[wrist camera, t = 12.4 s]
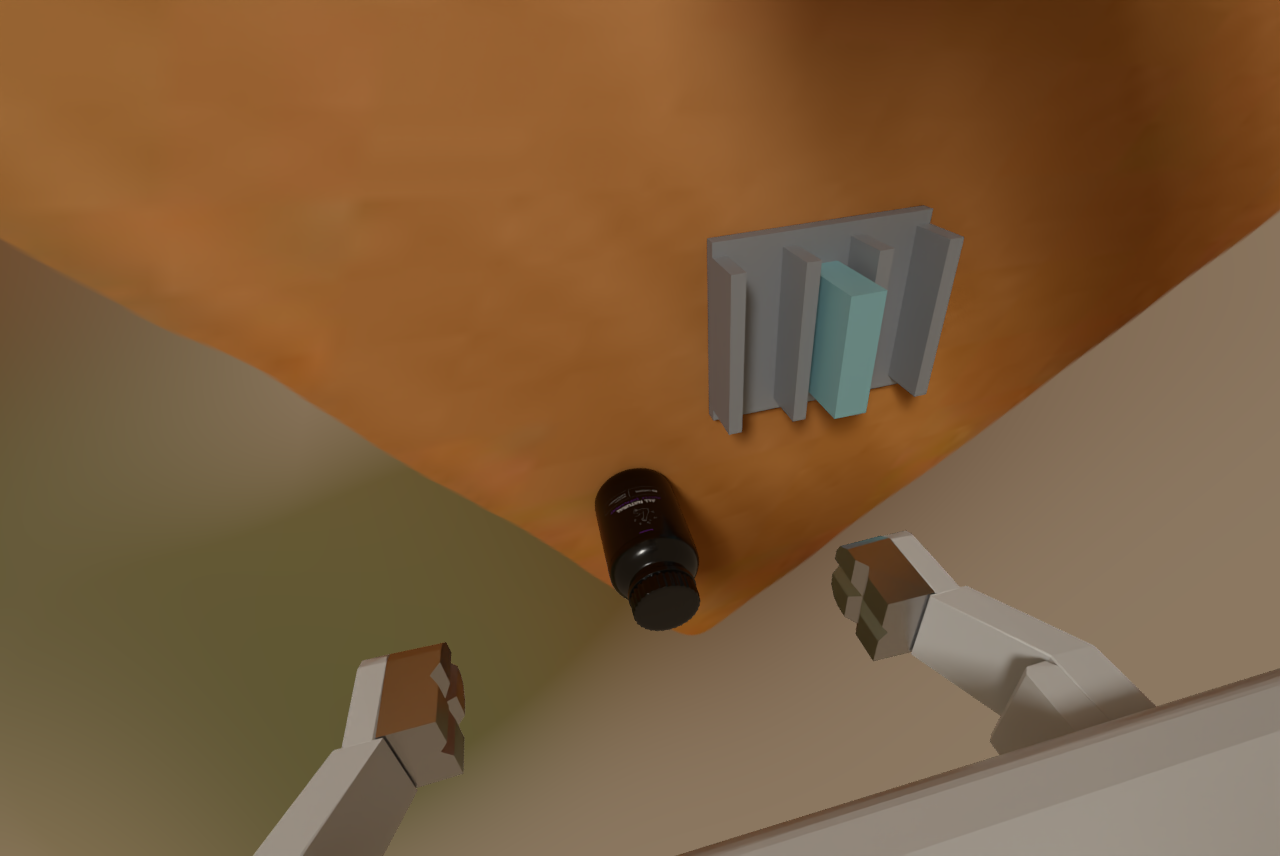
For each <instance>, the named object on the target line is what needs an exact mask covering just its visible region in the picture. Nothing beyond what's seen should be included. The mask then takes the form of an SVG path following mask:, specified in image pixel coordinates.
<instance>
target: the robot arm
mask: <svg viewBox="0 0 1280 856" xmlns="http://www.w3.org/2000/svg"><path fill="white" fill-rule="evenodd" d="M835 559H836V561H837V562H838V564H839V567H838V568H837V569H836V570H835V571H834V573H833V574H832V583H831V585H832V590H833V595H834V598H835V600H836V602H837V605H838V607H839V608H840V610H841V612H842V613H843V615H844V616H845V617H846V618H848V619H850V620H852V621H853V622H855V623H857V627H856V635H857V637H858V638H859V640H860V641H861V643H862V645H863V646H864V648H865V649H866V651H867V652H868V654H869V655H870V657H871V659H872V660H873V661H876V660H880V659H884V658H888V657H893V656H897V655H901V654H905V653H909V652H912V653H911V654H912V655H913V656H915V657H916V658H917V659H919V660H920V661H922V662H923V663H925V664H926V665H928V666H929V667H930V668H932V669H933V670H935V671H936V672H938V673H939V674H941V675H942V676H944V677H945V678H946V679H948V680H949V681H951V682H952V683H954V684H955V685H957V686H958V687H959V688H961V689H962V690H964V691H965V692H967V693H968V694H970V695H971V696H973V697H974V698H975V699H977V700H978V701H980V702H981V703H983V704H984V705H986V706H987V707H989V708H990V709H991V710H993V711H994V712H996V713H998V714H999V715H1000V716H1001V717H1000V719H999V720H998V722H997V724H996V726H995V728H994V730H993V732H992V734H991V739H990V742H991V744H992V745H993V747H994V748H995V749H996V751H997V752H998V753H999V756H995V757H992V758H989V759H986V760H983V761H979V762H976V763H973V764H970V765H966V766H964V767H960V768H957V769H954V770H950V771H947V772H944V773H941V774H938V775H934V776H931V777H928V778H925V779H921V780H918V781H915V782H912V783H908V784H905V785H902V786H899V787H896V788H892V789H889V790H886V791H883V792H880V793H876V794H873V795H870V796H867V797H863V798H860V799H857V800H854V801H850V802H848V803H844V804H841V805H838V806H835V807H831V808H828V809H825V810H822V811H818V812H815V813H812V814H809V815H806V816H802V817H799V818H796V819H793V820H789V821H786V822H783V823H780V824H776V825H773V826H770V827H767V828H763V829H760V830H757V831H754V832H751V833H747V834H744V835H741V836H738V837H734V838H731V839H728V840H725V841H722V842H719V843H716V844H712V845H709V846H706V847H702V848H699V849H696V850H693V851H689V852H686V853H683V854H680V855H677V856H1280V668H1279V669H1276V670H1273V671H1269V672H1267V673H1263V674H1260V675H1257V676H1253V677H1250V678H1247V679H1244V680H1240V681H1237V682H1234V683H1231V684H1228V685H1224V686H1221V687H1218V688H1215V689H1212V690H1208V691H1205V692H1202V693H1199V694H1195V695H1193V696H1189V697H1186V698H1182V699H1179V700H1177V701H1173V702H1170V703H1166V704H1163V705H1160V706H1157V707H1156V706H1155V705H1154V704H1153V703H1152V702H1151V701H1150V700H1149V699H1148V698H1147V697H1146V696H1145V695H1144V694H1143V693H1142V692H1141V691H1140V690H1139V689H1138V688H1137V687H1136V686H1135V685H1134V684H1133V683H1132V682H1131V681H1130V680H1129V679H1128V678H1127V677H1126V676H1125V675H1124V674H1123V673H1122V672H1121V671H1120V670H1119V669H1118V668H1116V667H1115V666H1114V665H1113V664H1112V663H1111V662H1110V661H1109V660H1108V659H1107V658H1106V657H1105V656H1104V655H1103V654H1102V653H1101V652H1100V651H1099V650H1098V649H1097V648H1096V647H1095V646H1094V645H1092V644H1090V643H1087V642H1085V641H1083V640H1081V639H1079V638H1077V637H1075V636H1072V635H1070V634H1068V633H1066V632H1064V631H1062V630H1060V629H1058V628H1056V627H1053V626H1051V625H1049V624H1047V623H1045V622H1043V621H1041V620H1038V619H1036V618H1034V617H1032V616H1030V615H1028V614H1026V613H1024V612H1021V611H1019V610H1017V609H1015V608H1013V607H1011V606H1009V605H1007V604H1004V603H1002V602H1000V601H998V600H996V599H993V598H992V597H989V596H987V595H985V594H983V593H981V592H979V591H977V590H975V589H972V588H970V587H968V586H963V587H959V585H958V584H957V583H956V582H955V581H954V580H953V579H952V578H951V577H950V575H949V574H948V573H947V572H946V571H945V570H944V569H943V568H942V567H941V566H940V564H939V563H938V562H937V561H936V560H935V559H934V558H933V557H932V555H931V554H930V553H929V552H928V551H927V550H926V549H925V548H924V547H923V546H922V544H921V543H920V542H919V541H918V540H917V539H916V538H915V537H914V536H913V534H912V533H910V532H908V531H901V532H897V533H893V534H889V535H885V536H878V537H874V538H870V539H866V540H863V541H859V542H855V543H851V544H847V545H843V546H840V547H839V548H838V549H837V551H836V557H835ZM464 716H465V695H464V685H463V681H462V677H461V674H460V671H459V669H458V666H456V665H453V664H451V651H450V649H449V647H448V645H447V643H446V642H445V643H440V644H436V645H431V646H426V647H422V648H417V649H413V650H407V651H403V652H398V653H394V654H389V655H384V656H380V657H376V658H372V659H367V660H363V661H362V662H361V665H360V666H359V668H358V670H357V675H356V679H355V684H354V689H353V695H352V699H351V704H350V709H349V714H348V719H347V724H346V729H345V734H344V739H343V744H342V748H340V749H336V750H333V751H332V753H331V754H330V755H329V757H328V758H327V759H326V761H325V762H324V763H323V764H322V766H321V767H320V768H319V770H318V771H317V772H316V774H315V775H314V776H313V778H312V779H311V780H310V782H309V783H308V784H307V785H306V787H305V788H304V789H303V791H302V792H301V793H300V795H299V796H298V797H297V799H296V800H295V801H294V803H293V804H292V805H291V807H290V808H289V809H288V811H287V812H286V813H285V814H284V816H283V817H282V818H281V820H280V821H279V822H278V824H277V825H276V826H275V828H274V829H273V830H272V832H271V833H270V834H269V835H268V837H267V838H266V839H265V841H264V842H263V843H262V845H261V846H260V847H259V849H258V850H257V851H256V853H255V854H254V855H253V856H383V855H384V853H385V851H386V849H387V847H388V846H389V844H390V842H391V840H392V838H393V836H394V834H395V832H396V830H397V829H398V827H399V825H400V823H401V821H402V819H403V817H404V815H405V813H406V811H407V809H408V808H409V806H410V804H411V802H412V800H413V798H414V796H415V794H416V792H417V789H416V788H417V787H421V786H424V785H427V784H431V783H434V782H437V781H440V780H443V779H447V778H450V777H454V776H457V775H460V774H463V770H464V736H463V734H462V732H461V730H460V728H459V723H460V722H461V720H462V719H463V717H464Z"/></svg>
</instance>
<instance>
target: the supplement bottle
mask: <svg viewBox="0 0 1280 856" xmlns="http://www.w3.org/2000/svg"><path fill="white" fill-rule="evenodd" d="M595 511H596V516H597V521H598V526H599V530H600V535H601V540H602V544H603V549H604V553H605V558H606V562H607V567H608V572H609V576H610V579H611V583H612V585H613V587H614V588H615V590H616V591H617V592H618V593H619V594H620V595H621V596H623V597H624V598H626V599H627V600H629V604H630V606H631V608H632V612H633V616H634V619H635V621H637V624H639V625H640V626H641V627H644V628H645V629H649V630H655V631H660V630H661V631H664V630H670V629H672V628H676V627H678V626H680V625H682V624H683V623H686V622H687V621H688V620H689V619H691V618H692V616H694V615H695V613H696V611H697V610H698V607H699V606H700V604H699V603H700V598H699V593H698V590H697V588H696V582H695V580H694V578H695V576H696V574H697V571H698V566H699V556H698V552H697V549H696V547H695V544H694V542H693V539H692V537H691V534H690V532H689V529H688V527H687V524H686V522H685V519H684V517H683V514H682V512H681V509H680V507H679V504H678V502H677V499H676V497H675V494H674V492H673V490H672V487H671V485H670V484H669V482H668V481H667V479H666V478H665V477H664V476H662V475H661V474H659V473H657V472H655V471H653V470H649V469H642V468H636V469H629V470H625V471H622V472H620V473H618V474H616V475H614V476H612V477H611V478H610V479H608V480H607V481H606V482H605V483H604V484H603V485H602V487H601V488H600V490H599V491H598V493H597V496H596V500H595Z"/></svg>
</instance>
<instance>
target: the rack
mask: <svg viewBox="0 0 1280 856" xmlns="http://www.w3.org/2000/svg"><path fill="white" fill-rule="evenodd" d="M932 211H933V209H932V208H930V207H927V206H924V205H923V206H917V207H910V208H904V209H897V210H891V211H884V212H877V213H871V214H864V215H858V216H851V217H845V218H838V219H832V220H825V221H819V222H812V223H805V224H799V225H792V226H786V227H779V228H773V229H766V230H760V231H753V232H747V233H740V234H733V235H727V236H720V237H714V238H707V267H708V354H709V414H710V416H711V418H712V419H713V420H718V419H719V420H720V421H721V423H722V424H723V426H724V427H725V429H726V431H727V432H728V434H729V435H730V434H735V433H739V432H742V416H743V414H748V413H753V412H758V411H763V410H768V409H773V408H778V407H781V408H782V409H783V410H784V411H785V413H786V414H787V415H788V416H789V417H790V419H791V420H792V421H798V420H803V419H805V418H806V409H807V402H808V401H813V400H816V399H815V398H814V397H813V396H812V395H811V394H810V393H809V392H808V390H809V380H810V371H811V361H812V351H813V342H814V332H815V323H816V313H817V304H818V294H819V285H820V275H821V266H822V263H826V262H832V261H839V262H841V263H843V264H844V265H846V266H848V267H849V268H851V269H853V270H854V271H856V272H858V273H859V274H861V275H863V276H864V277H866V278H868V279H869V280H871V281H873V282H874V283H876V284H878V285H879V286H881V287H883V288H884V289H886V290H887V296H886V302H885V307H884V313H883V319H882V324H881V330H880V336H879V341H878V347H877V353H876V358H875V364H874V370H873V375H872V381H871V387H870V389H872V388H877V387H882V386H887V385H892V384H897V383H898V384H899V385H901V386H902V387H903V388H904V389H906V390H907V391H908V392H909V393H911V394H912V395H913V396H914V397H915V396H919V395H924V394H926V392H927V388H928V384H929V380H930V376H931V372H932V368H933V363H934V359H935V355H936V351H937V347H938V343H939V339H940V335H941V331H942V327H943V322H944V318H945V314H946V310H947V306H948V302H949V298H950V294H951V290H952V285H953V281H954V277H955V273H956V269H957V265H958V261H959V257H960V253H961V248H962V244H963V240H964V237H963V236H960V235H958V234H955V233H953V232H950V231H948V230H945V229H943V228H940V227H937V226H935V225H932V224H930V221H931V216H932Z"/></svg>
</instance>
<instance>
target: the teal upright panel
mask: <svg viewBox="0 0 1280 856" xmlns="http://www.w3.org/2000/svg"><path fill="white" fill-rule="evenodd" d="M886 296H887V290H886V289H884V288H883V287H881V286H879V285H878V284H876V283H874V282H873V281H871V280H869V279H868V278H866V277H864V276H863V275H861V274H859V273H858V272H856V271H854V270H853V269H851V268H849V267H848V266H846V265H844V264H843V263H841V262H839V261H832V262H826V263H822V266H821V275H820V285H819V294H818V304H817V313H816V323H815V332H814V342H813V351H812V361H811V371H810V380H809V390H808V392H809V393H810V394H811V395H812V396H813V397H814V398H815V399H816V400H817V401H818V402H819V403H820V404H821V405H822V406H823V407H824V408H825V410H826V411H827V412H828V413H829V414H830V415H831V416H832V417H833V418H834V419H837V418H842V417H847V416H851V415H856V414H861V413H866V409H867V403H868V398H869V392H870V387H871V381H872V375H873V370H874V364H875V358H876V353H877V347H878V341H879V336H880V330H881V324H882V319H883V313H884V307H885V302H886Z"/></svg>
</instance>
